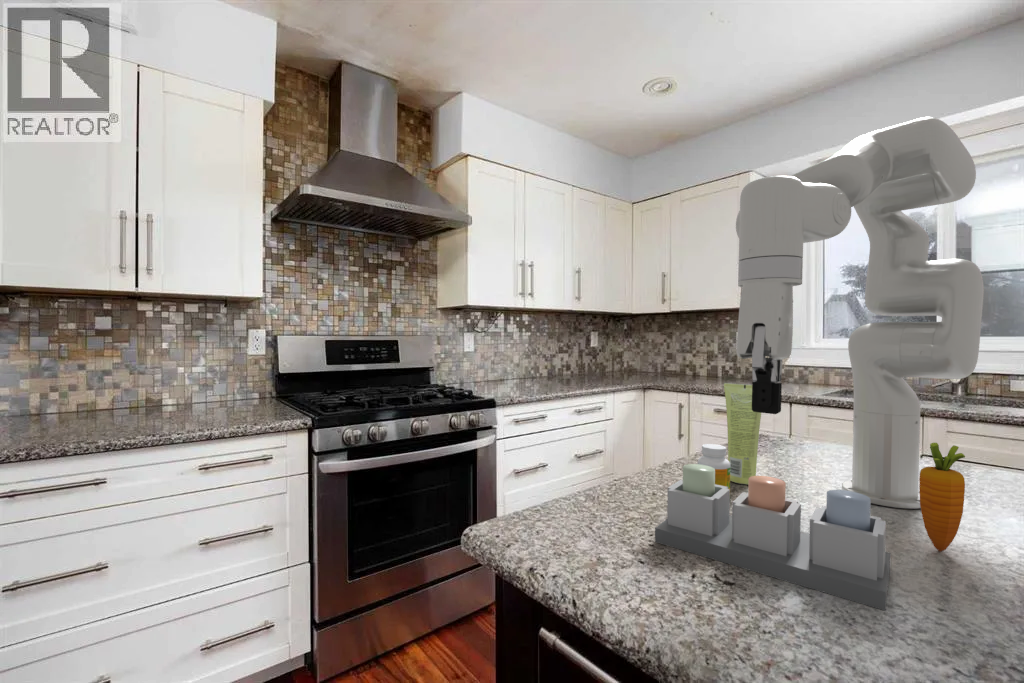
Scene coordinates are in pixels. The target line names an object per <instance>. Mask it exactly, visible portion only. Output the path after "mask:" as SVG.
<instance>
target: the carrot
mask: <svg viewBox="0 0 1024 683" xmlns="http://www.w3.org/2000/svg"><path fill="white" fill-rule="evenodd" d="M929 446H930V447H929V449H930V452H931V456H932V460H933V462H934V465H935V466H924V467H922V468H921V470H919V491H920V507H921V508H920V512H921V516H922V520H923V525H924V529H925V530H926V533H927V536H928V538H929V540H930V541H931V544H932V545H933V547H934V549H936V551H938V552H940V553H941V552H945V551H946V550H947V549H948V547H949V546H950V545H951V544H952V543H953V541H954V539H955V538H956V535H957V534H958V531H959V528H960V524H961V522H962V517H963V513H964V503H965V489H966V481H965V476H964V475H963V474H962V473H961V472H959V471H957V470H954V469H951V467H952V466H953V465H954V463H955V462H957V461H958V460H959V459H964V458H966V456H965V454H964V453H963V452H959V453H957V451H958V450H959V446H957V445H952V446H951V447H950V449H949V451H948V453H947V456H943V455H942V452H941V451H940V450H941V449H940V447H939V443H938V442H932V443H930V444H929Z"/></svg>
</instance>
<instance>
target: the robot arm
mask: <svg viewBox="0 0 1024 683" xmlns="http://www.w3.org/2000/svg"><path fill="white" fill-rule="evenodd" d="M976 170H977V168H976V165H975V161H974V159H973V156H972V155H971V154H970V152H969V151H968V149H967V148H966V146H965V144H963V142H962V140H961V138H960V137H959V136H958V135H957V133H956V131H955V130H954V129H952V127H951V126H950V125H949V124H947V123H946V122H944V120H941V119H939V118H936V117H932V116H925V117H919V118H916V119H913V120H909V121H906V122H903V123H899V124H895V125H892V126H888V127H885V128H882V129H877V130H874V131H871V132H867V133H866V134H862V135H859V136H858V137H855V138H854V139H853V140H851V141H849V142H848V143H846V144H845V145H844V146H842V147H841V148H840V149H839V150H837V151H836V152H835V153H833V154H831V155H830V156H829V157H828V158H826V159H825V160H822V161H820V162H818V163H815V164H813V165H811V166H808V167H807V168H805V169H802V170H801V171H799V172H796V173H795V174H792V175H773V176H767V177H766V176H765V177H762V178H758V179H755V180H753V181H750V182H749V183H747V184H745V185H744V187H743V188H742V190H741V192H740V196H739V211H738V213H737V216H736V221H735V230H736V232H735V233H736V235H737V237H738V268H737V269H738V271H737V272H738V274H737V275H738V277H737V278H738V280H737V281H738V282H737V283H738V284H737V286H738V287H740V288H742V289H741V293H740V301H739V308H738V323H737V334H736V335H737V336H736V351H735V352H736V355H737V357H738V358H739V359H744V360H745V359H751V360H752V361H751V368H752V369H751V370H752V372H751V374H752V383H751V385H752V411H753V412H759V413H761V414H769V415H771V414H772V415H778V414H779V413H781V411H782V387H783V386H782V384H783V383H782V373H783V360H785V359H787V358H789V357H791V354H792V350H793V349H792V348H793V334H794V333H793V332H794V330H793V329H794V296H793V293H794V291H793V288H794V287H797V286H801V285H803V269H804V268H803V267H804V266H803V263H804V244H806V243H813V242H820V241H824V240H828V239H829V240H830V239H831V238H834V237H836V236H838V235H840V234H841V233H843V231H844V230H845V229H846V228H847V226H848V225H849V223H850V220H851V218H852V208H854V210H855V212H856V214H857V216H858V218H859V220H860V222H861V224H862V226H863V227H864V229H865V230H864V231H865V232H866V234H867V236H868V240H869V254H868V264H867V273H866V280H865V289H864V290H865V291H864V301H865V307H866V308H867V310H868V311H869V312H870V313H872V314H874V315H878V316H884V317H929V316H930V317H932V316H933V317H934V316H935V317H941V321H881V322H880V321H879V322H872V323H865V324H863V325H860V326H859V327H857V328H855V329H854V330H853V331H852V332H851V334H850V336H849V338H848V343H847V345H848V347H847V348H848V356H849V360H850V365H851V371H852V373H851V374H852V384H853V414H852V415H853V419H852V420H853V423H852V424H853V426H852V463H851V464H852V469H851V470H852V471H851V472H852V475H851V480H850V479H849V480H845V481H844V482H842V483H841V490H846V491H852V492H856V493H860V494H863V495H866V496H868V497H869V498H870V499H871V504H873V505H877V506H878V505H879V506H883V507H888V508H894V509H895V508H897V509H906V510H907V509H909V510H910V509H912V510H913V509H915V510H916V509H921V507H920V489H919V477H920V448H921V447H920V441H921V437H920V435H921V403H920V399H919V397H918V395H917V393H916V392H915V390H913V388H912V387H911V385H909V384H908V382H907V381H906V380H905V379H904V378H923V379H924V378H925V379H936V380H937V379H939V380H941V379H942V380H960V379H965V378H967V377H969V376H971V375H972V373H974V371H975V370H976V366H977V364H978V360H979V352H980V343H981V342H980V341H981V332H982V330H981V329H982V318H983V307H984V292H985V291H984V290H985V288H984V279H983V275H982V272H981V270H980V268H979V266H978V265H977V264H976V263H975V262H973V261H970V260H968V259H963V258H948V259H947V258H946V259H945V258H944V259H936V260H929V258H928V257H929V250H930V249H929V248H930V247H929V246H930V236H929V234H928V232H927V231H926V230H925V229H924V228H923V226H921V225H920V224H919V223H918V221H917V222H916V221H915V220H914V219H912V218H911V217H910V216H908V215H907V214H906V213H904V212H903V211H906V210H914V209H920V208H924V207H925V208H926V207H931V206H939V205H944V204H950V203H953V202H957V201H960V200H962V199H964V198H965V197H967V196H968V195H969V193H971V191H972V190H973V188H974V186H975V183H976V179H977V171H976Z"/></svg>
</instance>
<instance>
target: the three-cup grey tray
mask: <svg viewBox="0 0 1024 683" xmlns="http://www.w3.org/2000/svg"><path fill="white" fill-rule="evenodd" d="M730 503H731V488H730V489H728V487H726V486H721V485H716V484H715V495H713V496H712V497H707V496H703V495H698V494H694V493H689V492H685V491H683V479H679V480H678V481H676V482H675V483H673V484H671V485H669V486H668V487H667V504H666V505H667V510H666V512H667V514H666V517H667V518H666V519H665V520H664V521H663V522H661V523H660V524H658V525H657V526H656V527H655V528H654V542H655V543H658V544H660V545H661V544H662V545H665V546H667V547H670V548H674V549H678V550H681V551H684V552H686V553H687V552H688V553H691V554H694V555H698V556H701V557H705V558H707V559H711V560H714V561H717V562H721V563H725V564H728V565H732V566H734V567H738V568H742V569H744V570H748V571H752V572H755V573H758V574H761V575H765V576H768V577H771V578H775V579H779V580H781V581H785V582H788V583H791V584H795V585H797V586H802V587H805V588H809V589H812V590H815V591H817V592H822V593H825V594H829V595H832V596H835V597H839V598H843V599H845V600H848V601H853V602H856V603H859V604H862V605H866V606H869V607H873V608H876V609H879V610H883V611H886V609H887V600H888V591H889V581H890V574H891V553H892V552H888V551H886V546H887V545H886V544H887V543H886V541H887V540H886V536H887V533H886V531H887V520H882V517H880V516H876V515H875V516H874V515H870V532H867V531H863V530H858V529H854V528H849V527H845V526H840V525H835V524H831V523H826V506H825V505H822V506H821V507H818V506H816V507H815V509H814V510H813V513H812V514H811V516H810V518H809V533H807V532H804V531H801V523H802V522H801V520H802V519H801V518H802V517H801V516H802V503H799V501H798V500H795V499H790V498H786V497H785V513H781V512H776V511H771V510H767V509H762V508H758V507H753V506H749V505H748V491H747V492H745V491H743V492H741V493H740V494H739V495H738V496H737V497H736V498H735V499H734V500H733V501H732V506H731V507H732V510H731V511H730V508H731V507H730V505H731V504H730ZM730 512H731V515H730Z"/></svg>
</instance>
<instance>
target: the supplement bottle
mask: <svg viewBox="0 0 1024 683" xmlns="http://www.w3.org/2000/svg"><path fill="white" fill-rule="evenodd" d="M701 454H702V455H701V456H699V458H698V459H697V463H696V464H700V465H706V466H710V467H712V468H714V469H715V484H716V485H721V486H726V487H728V489H730V490H731V481H730V462H729V461H728V458H726V456H727V447H726V446H724V445H720V444H715V443H704V444H702V445H701Z"/></svg>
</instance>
